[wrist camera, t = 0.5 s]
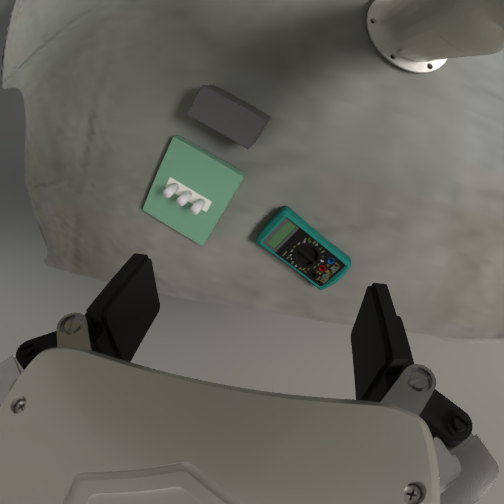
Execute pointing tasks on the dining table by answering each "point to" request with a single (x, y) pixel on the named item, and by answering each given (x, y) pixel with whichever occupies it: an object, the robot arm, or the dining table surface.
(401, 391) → the robot arm
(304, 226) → the digital multimeter
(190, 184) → the board
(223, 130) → the block
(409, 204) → the dining table surface
